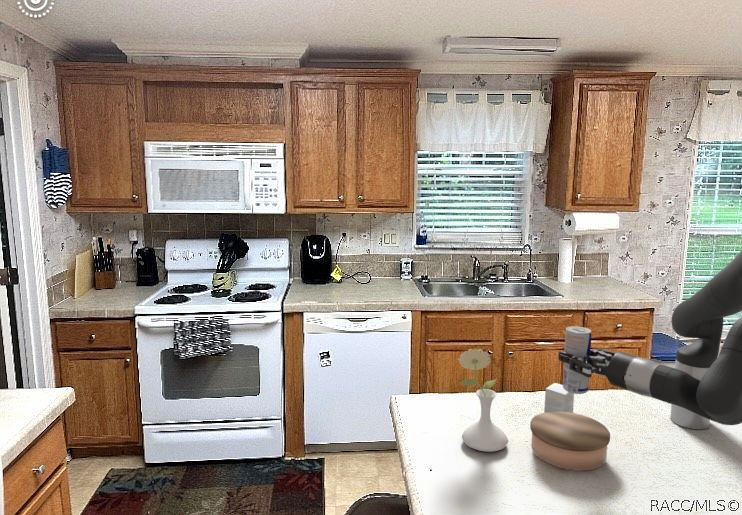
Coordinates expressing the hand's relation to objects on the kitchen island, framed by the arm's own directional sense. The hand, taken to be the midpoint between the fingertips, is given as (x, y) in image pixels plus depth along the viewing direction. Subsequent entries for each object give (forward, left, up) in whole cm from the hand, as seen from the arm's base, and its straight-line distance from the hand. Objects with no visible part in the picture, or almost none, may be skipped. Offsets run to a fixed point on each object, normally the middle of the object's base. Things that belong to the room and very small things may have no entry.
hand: (567, 352), depth 126 cm
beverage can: (+1, +2, -9) cm, 9 cm away
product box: (-22, -6, -26) cm, 35 cm away
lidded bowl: (+1, +1, -26) cm, 26 cm away
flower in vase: (+6, -19, -26) cm, 32 cm away
